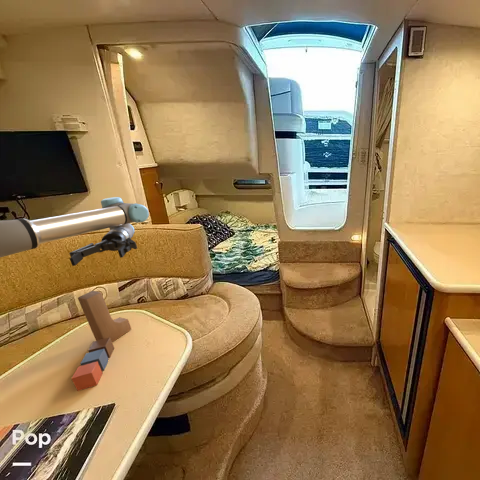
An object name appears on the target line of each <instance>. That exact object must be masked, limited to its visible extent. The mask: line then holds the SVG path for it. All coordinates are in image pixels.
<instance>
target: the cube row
mask: <svg viewBox="0 0 480 480" xmlns="http://www.w3.org/2000/svg"><path fill="white" fill-rule="evenodd" d="M114 350H115V346H114V344H113V342H112V341H111V339H110V337H109V338H105V339H101V340H97V341H96V340H94V341H92V343H91V344H90V346H89V347H88V350H87V352H86V353H85V354H84V356H83V358H82V360H81V361H80V363H79V364H80V365H79V366H77V368H76V370H75V371H74V373H73V375H72V377H71V378H70V379H71V381H72V383H73V385H74V387H75V388H76V391H77V392H79V391H82V390H85V389H89V388H92V387H96V386H98V385H99V382H100V381H101V378H102V376H103V372H104V371H105V369H106V367H107V365H108V363H109V361H110V358H111V357H112V354H113V352H114ZM108 360H109V361H108Z"/></svg>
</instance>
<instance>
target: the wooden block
mask: <svg viewBox="0 0 480 480" xmlns="http://www.w3.org/2000/svg"><path fill="white" fill-rule="evenodd" d="M77 299H78V300H77V301H78V302H79V305H80V307H81V309H82V311H83V314H84V316H85V318H86V321H87V324H88V326H89V328H90V330H91V332H92V334H93V337H94V340H95V341H97V340H101V339H105V338H109V337H110V339H111V341H112V343H114V342H115V341H116V340H118V339H119V338H121V337H122V336H124V335H126V334H127V333H128V332H130V331H131V330H132V327H131V323H130V321H129V319H128V318H124V317H117V318H115V319H113V318H112V316H111V313H110V311H109V308H108V305H107V303H106V301H105V298H104V296H103V293H102V292H101V291H97V290H90V291H89V292H87V293H84V294H82V295H80V296H78V297H77Z"/></svg>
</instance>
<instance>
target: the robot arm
mask: <svg viewBox="0 0 480 480" xmlns="http://www.w3.org/2000/svg"><path fill="white" fill-rule="evenodd" d="M100 205H101V208H97V209H92V210H86V211H85V210H84V211H80V212H79V211H78V212H73V213H68V214H62V215H57V216H56V215H55V216H50V217H44V218H38V219H32V220H30V219H27V218H17V219H7V220H0V258H4V257H7V256H12V255H15V254H19V253H22V252H26V251H31V250H34V249H38V248H39V247H40V246H41V244H46V243H50V242H54V241H59V240H62V239H67V238H71V237H76V236H80V235H83V234H84V235H85V234H88V233H92V232H97V231H101V230H102V231H103V230H105V229H109V231H108V232H106V233H105V234H104V236H102V237H101V241H99V242H97V243H95V244H94V243H93V242H91V243H88V244H87V245H85V246H82V247H80V248H78V249H75V250H73V251H70V252H68V254H69V256H70V257H69V260H70V263H71V266H72V267H73V266H77V265H78V264H79V263H80V262H82V260H83V259H84V258H85V257H88V256H91V255H93V254H97V253H104V252H105V251H107V252H108V251H109V252H118V256H119V258H120V259H121V258H122V259H123V258H124V257H125V255H126V254H127V253H128V252H130V251H132V249H133V250H137V249H138V246H137V242H136V241H135V240H133V239H132V238H133V237H134V234H135V227H134V226H133V224H132V223H136V224H139V223H143V222H145V221H147V220H148V218H149V216H150V213H149V209H148V207H146V206H145V205H144V204H140V203H128V202H127V203H125V202H124V201H123V199H122V198H121V197H119V196H112V197H107V198H106V197H105V198H103V199H102V200H100Z"/></svg>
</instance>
